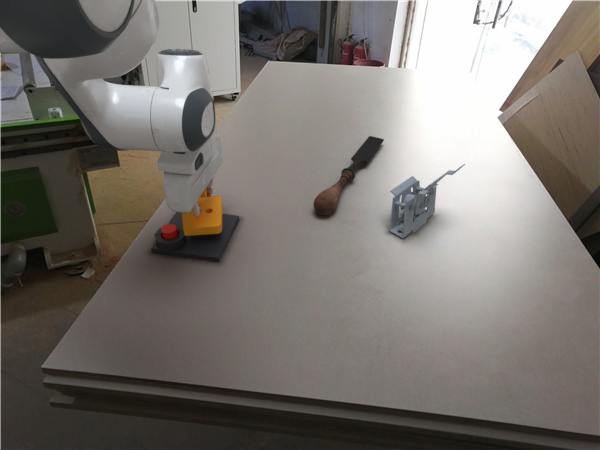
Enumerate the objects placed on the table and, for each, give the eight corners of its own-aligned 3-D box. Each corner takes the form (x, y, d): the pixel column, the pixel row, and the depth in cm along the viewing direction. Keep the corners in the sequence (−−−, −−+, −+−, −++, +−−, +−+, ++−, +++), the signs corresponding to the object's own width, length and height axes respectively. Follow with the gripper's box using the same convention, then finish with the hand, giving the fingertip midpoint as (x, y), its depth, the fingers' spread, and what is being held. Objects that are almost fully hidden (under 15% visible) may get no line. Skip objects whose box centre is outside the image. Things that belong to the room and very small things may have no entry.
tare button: (174, 240, 80) (172, 234, 79) (159, 238, 80) (158, 232, 79) (180, 231, 82) (179, 224, 81) (166, 229, 83) (164, 222, 82)
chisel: (308, 216, 92) (309, 198, 89) (368, 142, 123) (370, 126, 120) (328, 222, 90) (330, 204, 87) (384, 145, 121) (386, 130, 118)
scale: (219, 262, 79) (217, 251, 78) (152, 252, 81) (149, 241, 79) (239, 219, 90) (238, 209, 88) (179, 212, 92) (177, 201, 90)
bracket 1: (222, 236, 81) (216, 186, 74) (185, 239, 80) (175, 188, 73) (222, 205, 90) (217, 157, 82) (189, 207, 89) (181, 159, 81)
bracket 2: (417, 247, 85) (433, 187, 75) (378, 226, 90) (389, 167, 81) (446, 221, 92) (465, 164, 83) (409, 203, 97) (423, 147, 88)
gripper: (197, 117, 82) (205, 176, 91) (151, 167, 66) (166, 232, 75) (227, 121, 81) (232, 179, 90) (188, 171, 65) (199, 237, 74)
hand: (202, 204), depth 82 cm, fingers closed on bracket 1, 5 cm apart
